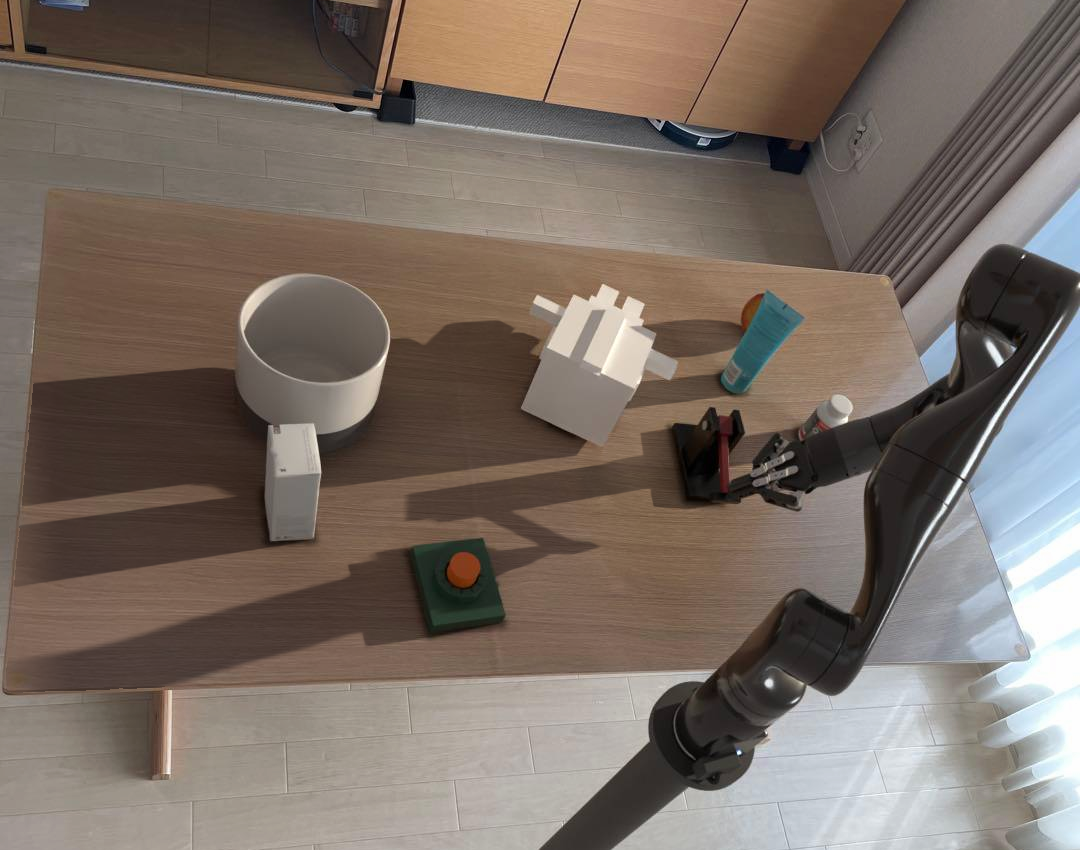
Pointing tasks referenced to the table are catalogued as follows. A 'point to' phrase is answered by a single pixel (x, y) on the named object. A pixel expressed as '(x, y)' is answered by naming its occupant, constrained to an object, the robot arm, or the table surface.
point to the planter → (310, 358)
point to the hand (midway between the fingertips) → (729, 491)
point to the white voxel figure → (592, 363)
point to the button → (463, 570)
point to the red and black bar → (724, 462)
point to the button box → (452, 603)
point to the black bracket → (703, 453)
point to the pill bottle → (827, 416)
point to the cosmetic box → (292, 481)
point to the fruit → (750, 310)
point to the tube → (760, 342)
